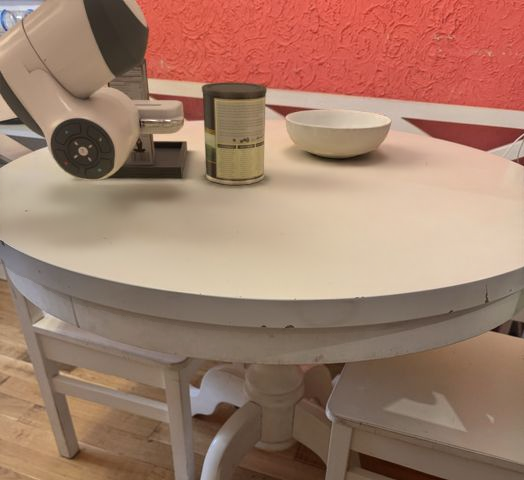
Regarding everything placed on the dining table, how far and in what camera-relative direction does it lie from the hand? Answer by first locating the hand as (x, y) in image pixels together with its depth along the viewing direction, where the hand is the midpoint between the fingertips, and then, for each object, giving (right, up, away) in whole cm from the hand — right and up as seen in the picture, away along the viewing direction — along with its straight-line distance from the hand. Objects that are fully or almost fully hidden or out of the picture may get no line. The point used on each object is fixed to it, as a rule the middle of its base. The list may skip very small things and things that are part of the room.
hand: (122, 106), depth 81 cm
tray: (-1, -4, +12) cm, 13 cm away
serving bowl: (+37, +1, +22) cm, 44 cm away
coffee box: (-1, -4, +12) cm, 13 cm away
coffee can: (+18, -9, +6) cm, 21 cm away
